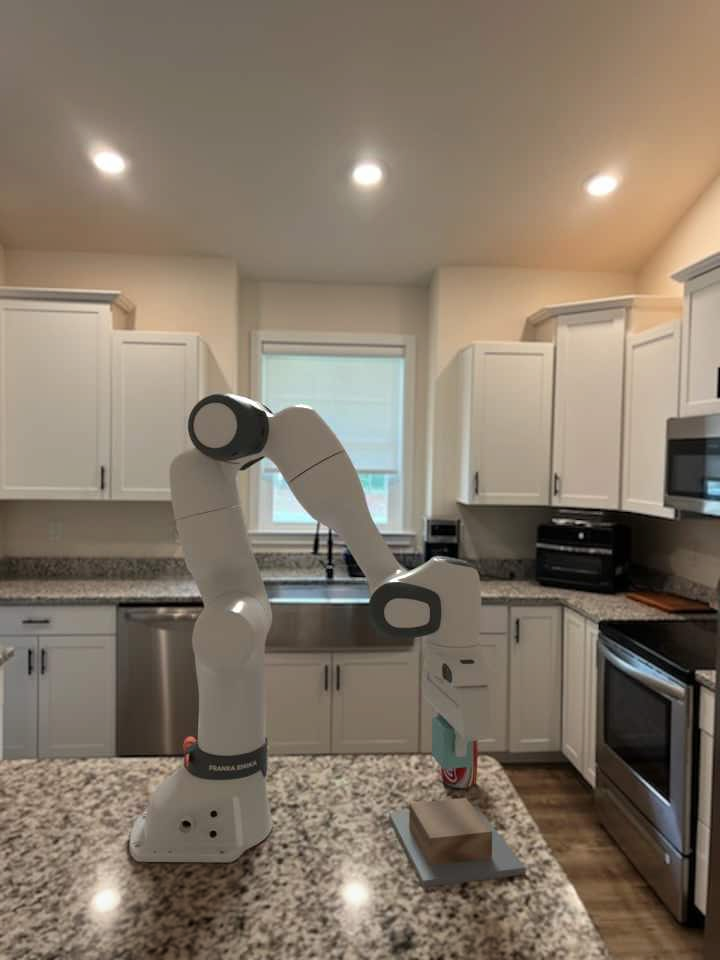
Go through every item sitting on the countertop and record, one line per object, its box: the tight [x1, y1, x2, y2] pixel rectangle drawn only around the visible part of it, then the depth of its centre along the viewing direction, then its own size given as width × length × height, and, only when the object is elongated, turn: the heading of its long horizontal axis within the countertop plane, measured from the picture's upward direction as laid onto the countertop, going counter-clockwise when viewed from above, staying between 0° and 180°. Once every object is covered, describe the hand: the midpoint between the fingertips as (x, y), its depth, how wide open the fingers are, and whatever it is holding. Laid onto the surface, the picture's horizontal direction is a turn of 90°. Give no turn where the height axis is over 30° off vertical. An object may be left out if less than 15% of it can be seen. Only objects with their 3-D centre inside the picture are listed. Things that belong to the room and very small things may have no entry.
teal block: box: [431, 716, 473, 769], centre depth 92 cm, size 5×5×6 cm
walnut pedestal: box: [408, 797, 492, 866], centre depth 92 cm, size 10×10×4 cm
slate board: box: [388, 803, 527, 888], centre depth 93 cm, size 16×18×1 cm
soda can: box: [440, 740, 479, 790], centre depth 114 cm, size 7×7×12 cm
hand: (451, 746), depth 92 cm, fingers closed on teal block, 5 cm apart
